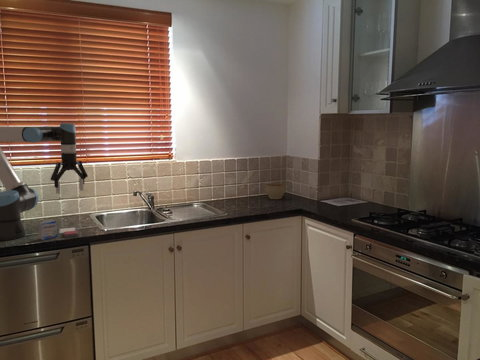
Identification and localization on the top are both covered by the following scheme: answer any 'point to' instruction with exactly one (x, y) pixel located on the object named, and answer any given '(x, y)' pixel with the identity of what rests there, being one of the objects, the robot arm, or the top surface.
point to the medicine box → (47, 229)
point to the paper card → (66, 229)
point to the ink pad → (71, 233)
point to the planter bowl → (275, 190)
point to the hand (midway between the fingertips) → (70, 192)
